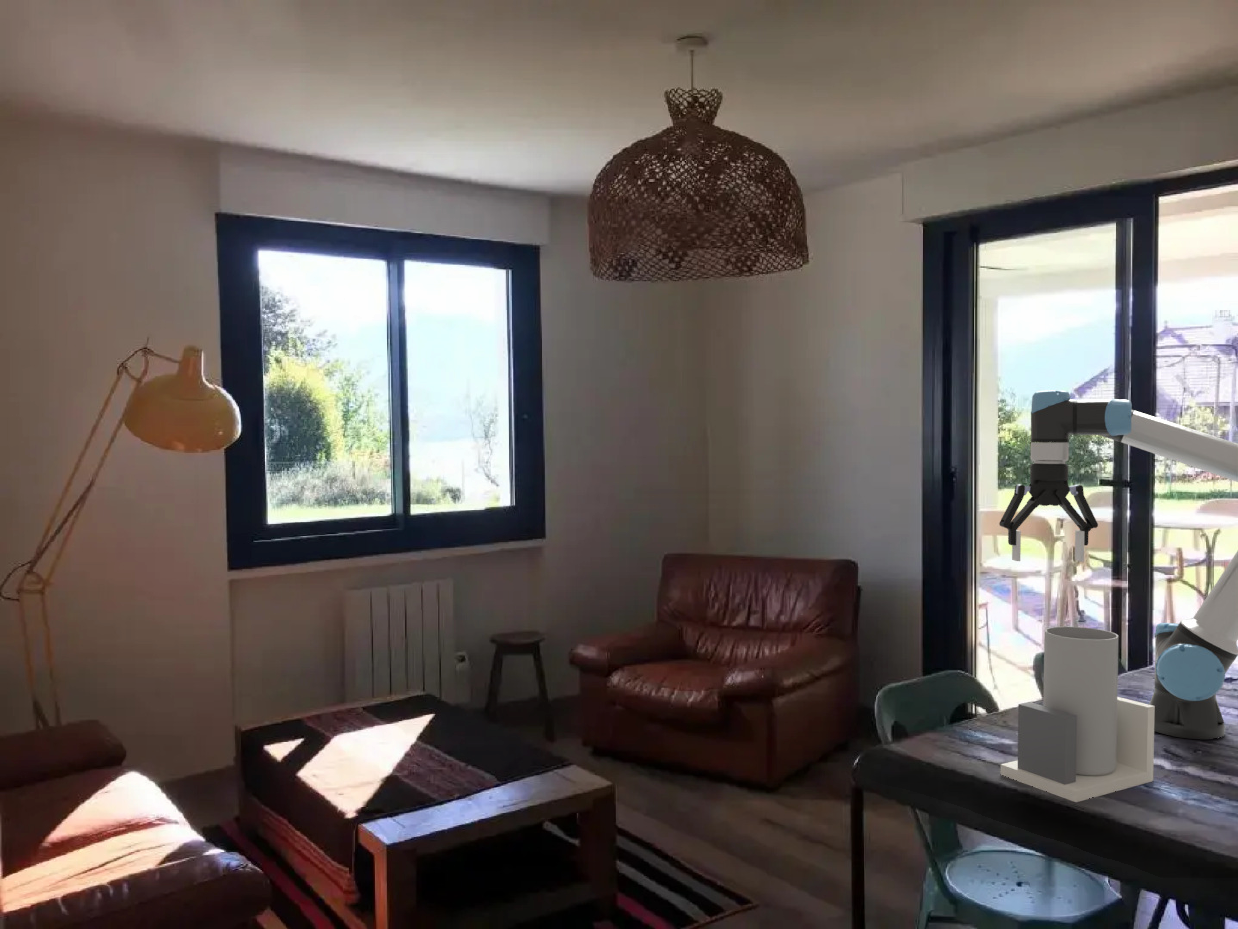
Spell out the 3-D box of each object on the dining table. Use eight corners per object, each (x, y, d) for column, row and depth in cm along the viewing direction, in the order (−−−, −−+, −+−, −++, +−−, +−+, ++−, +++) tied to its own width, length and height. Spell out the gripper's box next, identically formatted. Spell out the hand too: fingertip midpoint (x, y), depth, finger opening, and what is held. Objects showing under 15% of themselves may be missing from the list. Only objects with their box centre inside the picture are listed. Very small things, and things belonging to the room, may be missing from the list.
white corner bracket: (1076, 756, 198) (1077, 686, 198) (1153, 781, 184) (1154, 706, 184) (1000, 774, 187) (1001, 701, 187) (1076, 802, 173) (1077, 722, 173)
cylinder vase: (1028, 761, 189) (1030, 630, 188) (1072, 751, 195) (1074, 624, 194) (1085, 781, 178) (1088, 642, 177) (1131, 770, 184) (1133, 636, 183)
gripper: (1099, 462, 218) (1097, 558, 219) (985, 461, 219) (983, 558, 219) (1115, 463, 211) (1114, 563, 212) (997, 462, 211) (996, 562, 212)
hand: (1047, 560), depth 215 cm, fingers open, 13 cm apart
